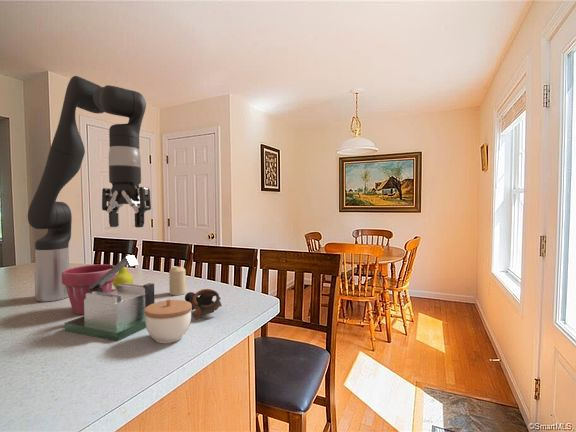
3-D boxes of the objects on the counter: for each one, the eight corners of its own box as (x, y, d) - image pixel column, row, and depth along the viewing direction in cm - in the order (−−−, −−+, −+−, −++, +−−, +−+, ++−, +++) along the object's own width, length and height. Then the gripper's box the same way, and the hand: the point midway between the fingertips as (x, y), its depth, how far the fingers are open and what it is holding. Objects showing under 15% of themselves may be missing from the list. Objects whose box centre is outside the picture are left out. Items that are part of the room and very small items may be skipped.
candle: (188, 291, 118) (187, 264, 117) (181, 295, 112) (181, 267, 112) (173, 291, 118) (173, 264, 118) (166, 295, 113) (166, 267, 113)
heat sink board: (64, 330, 81) (63, 288, 81) (117, 311, 96) (117, 275, 96) (117, 341, 75) (116, 295, 74) (165, 318, 90) (165, 280, 89)
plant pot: (50, 314, 93) (49, 271, 93) (94, 300, 106) (93, 262, 106) (85, 320, 88) (84, 274, 88) (127, 305, 102) (126, 265, 101)
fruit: (127, 293, 116) (126, 260, 115) (108, 292, 116) (108, 260, 116) (136, 288, 123) (136, 257, 122) (119, 287, 123) (118, 257, 122)
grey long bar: (93, 296, 87) (88, 287, 87) (101, 294, 89) (97, 285, 90) (130, 265, 82) (125, 256, 82) (138, 264, 84) (133, 254, 84)
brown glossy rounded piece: (226, 310, 99) (227, 291, 95) (211, 333, 91) (212, 314, 87) (192, 298, 101) (191, 279, 97) (174, 320, 93) (173, 300, 89)
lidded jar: (164, 352, 70) (163, 309, 69) (135, 340, 75) (134, 301, 75) (201, 335, 79) (201, 297, 78) (173, 326, 84) (172, 291, 84)
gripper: (157, 166, 85) (158, 226, 85) (116, 168, 89) (117, 225, 90) (135, 162, 78) (136, 228, 78) (92, 165, 82) (93, 227, 83)
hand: (126, 227), depth 84 cm, fingers open, 8 cm apart
